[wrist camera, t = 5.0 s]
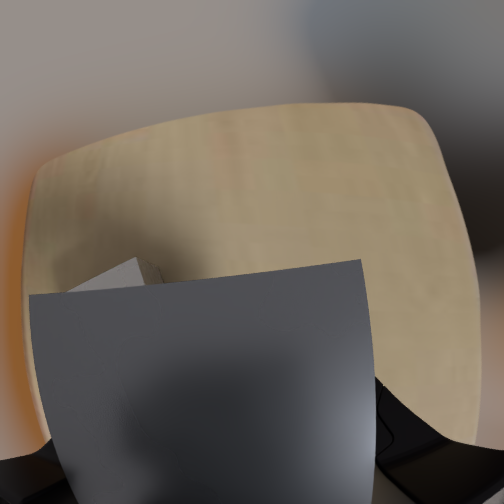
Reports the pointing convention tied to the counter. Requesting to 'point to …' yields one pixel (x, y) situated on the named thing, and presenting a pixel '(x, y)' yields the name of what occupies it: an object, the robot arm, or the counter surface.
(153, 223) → the counter surface
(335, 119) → the counter surface
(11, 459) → the robot arm
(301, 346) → the peg
